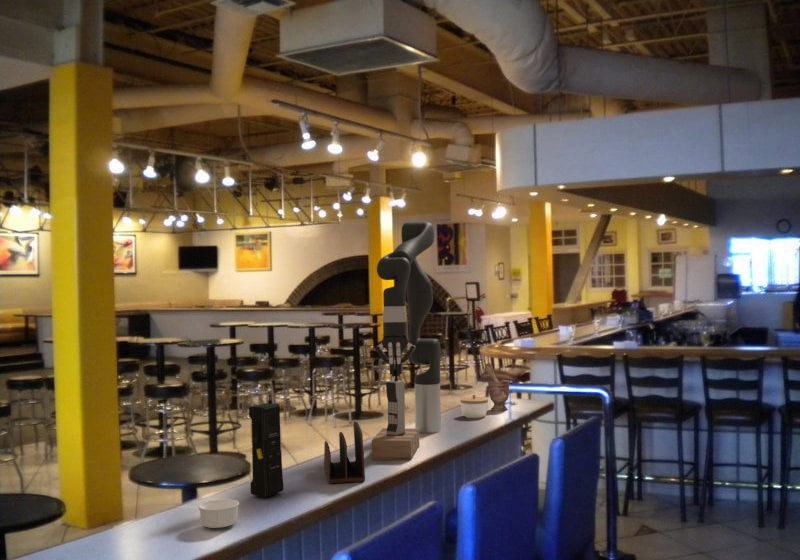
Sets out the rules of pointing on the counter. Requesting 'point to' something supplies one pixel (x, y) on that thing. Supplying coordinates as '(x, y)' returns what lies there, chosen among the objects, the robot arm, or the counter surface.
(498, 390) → the mortar and pestle
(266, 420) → the portable radio
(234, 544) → the counter surface
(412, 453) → the walnut dock rack
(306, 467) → the counter surface
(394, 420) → the vintage mobile phone
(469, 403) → the lidded jar
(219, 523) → the ramekin
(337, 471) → the letter holder
